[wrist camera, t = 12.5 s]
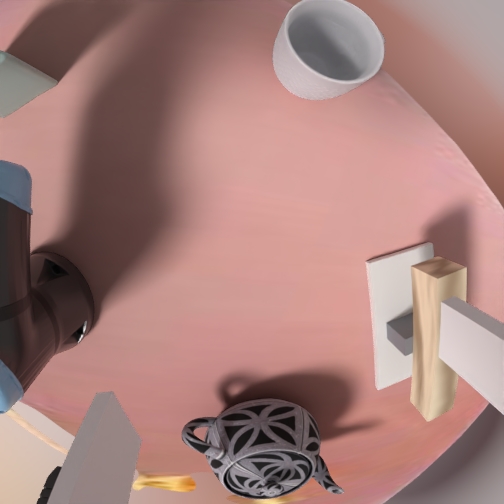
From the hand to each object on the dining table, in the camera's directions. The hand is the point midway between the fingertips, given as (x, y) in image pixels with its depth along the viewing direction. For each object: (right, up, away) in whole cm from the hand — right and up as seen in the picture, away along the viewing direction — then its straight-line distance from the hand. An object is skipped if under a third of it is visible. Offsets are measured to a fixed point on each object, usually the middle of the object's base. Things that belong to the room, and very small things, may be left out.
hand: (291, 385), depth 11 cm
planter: (-38, +29, +22) cm, 53 cm away
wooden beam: (+24, -8, +29) cm, 39 cm away
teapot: (+1, -26, +39) cm, 47 cm away
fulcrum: (+24, -6, +36) cm, 44 cm away
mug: (+7, +29, +27) cm, 41 cm away
